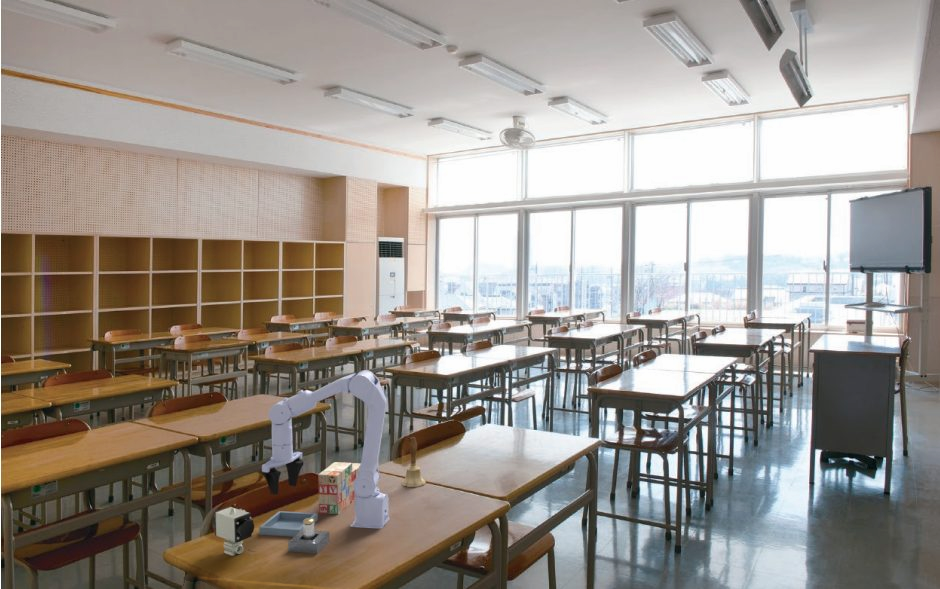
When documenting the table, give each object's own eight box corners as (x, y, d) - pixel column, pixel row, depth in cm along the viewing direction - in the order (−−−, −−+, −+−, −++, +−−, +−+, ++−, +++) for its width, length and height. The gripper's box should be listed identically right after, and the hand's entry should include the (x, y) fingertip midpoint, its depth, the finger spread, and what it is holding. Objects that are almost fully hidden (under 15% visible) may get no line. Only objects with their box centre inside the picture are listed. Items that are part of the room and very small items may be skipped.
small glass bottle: (316, 544, 175) (315, 518, 174) (312, 548, 172) (311, 522, 172) (306, 543, 175) (306, 517, 175) (302, 547, 172) (301, 521, 172)
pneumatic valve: (240, 562, 165) (239, 515, 165) (212, 551, 172) (210, 506, 171) (258, 554, 170) (257, 508, 169) (230, 544, 176) (228, 500, 176)
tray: (317, 521, 191) (317, 513, 191) (299, 538, 179) (299, 529, 179) (279, 519, 193) (279, 511, 193) (259, 536, 182) (259, 527, 181)
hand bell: (404, 479, 229) (403, 434, 228) (427, 480, 228) (427, 434, 227) (398, 487, 221) (398, 440, 220) (422, 488, 220) (422, 441, 219)
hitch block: (329, 542, 177) (329, 531, 177) (317, 555, 169) (317, 544, 169) (301, 540, 178) (301, 529, 178) (288, 553, 170) (288, 541, 170)
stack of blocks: (345, 489, 219) (345, 453, 218) (363, 490, 218) (362, 454, 217) (318, 513, 198) (317, 473, 197) (338, 515, 197) (337, 474, 196)
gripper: (289, 435, 197) (290, 480, 198) (253, 448, 184) (254, 495, 185) (307, 438, 194) (308, 483, 195) (272, 451, 181) (273, 499, 182)
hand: (283, 489), depth 190 cm, fingers open, 7 cm apart
